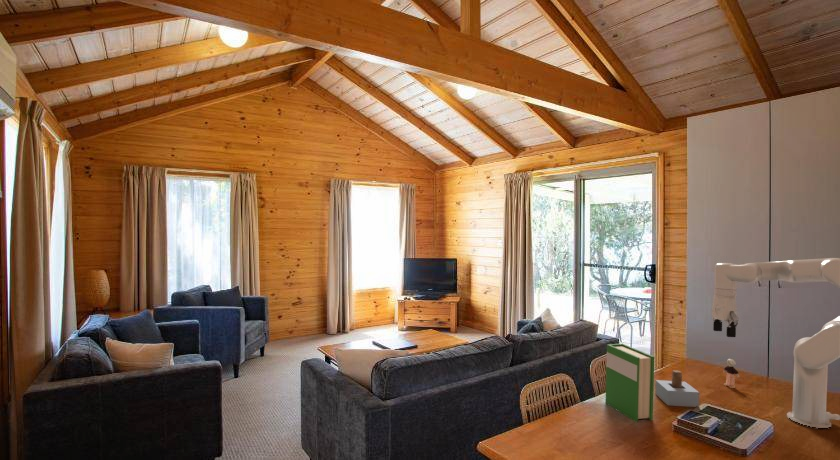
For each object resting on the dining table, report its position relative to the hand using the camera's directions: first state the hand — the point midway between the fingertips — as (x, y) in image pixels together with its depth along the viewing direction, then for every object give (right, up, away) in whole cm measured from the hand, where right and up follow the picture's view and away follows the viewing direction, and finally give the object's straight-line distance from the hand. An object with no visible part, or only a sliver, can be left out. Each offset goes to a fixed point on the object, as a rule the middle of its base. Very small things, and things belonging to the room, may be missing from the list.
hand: (724, 333), depth 185 cm
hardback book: (-45, -28, -10) cm, 54 cm away
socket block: (-19, -28, +1) cm, 34 cm away
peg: (-19, -28, +1) cm, 34 cm away
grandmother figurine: (+15, -28, +17) cm, 36 cm away
